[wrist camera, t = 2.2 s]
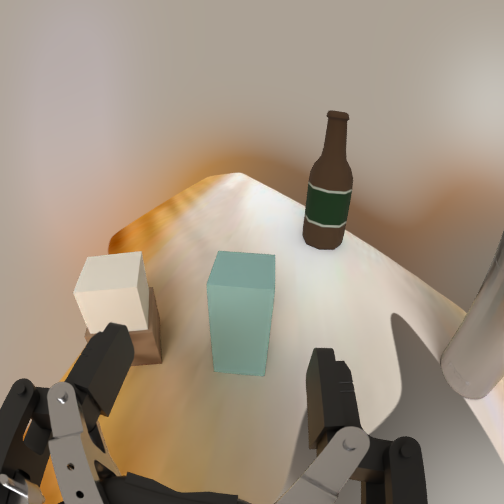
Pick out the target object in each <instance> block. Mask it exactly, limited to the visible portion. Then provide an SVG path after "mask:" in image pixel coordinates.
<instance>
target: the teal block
mask: <svg viewBox="0 0 504 504" xmlns="http://www.w3.org/2000/svg"><path fill="white" fill-rule="evenodd" d="M274 293H275V255H269V254H255V253H241V252H227V251H218V253H217V256H216V259H215V262H214V265H213V268H212V270H211V273H210V276H209V279H208V282H207V297H208V310H209V323H210V334H211V345H212V355H213V365H214V372H223V373H232V374H242V375H254V376H264V375H265V367H266V360H267V352H268V344H269V336H270V328H271V319H272V311H273V302H274Z"/></svg>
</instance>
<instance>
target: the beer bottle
mask: <svg viewBox="0 0 504 504" xmlns="http://www.w3.org/2000/svg"><path fill="white" fill-rule="evenodd" d="M327 117H328V124H327V130H326V137H325V143H324V148H323V152H322V155H321V156H320V158H319V159H318V160H317V161H316V162H315V163H314V165H313V167H312V169H311V171H310V177H309V183H308V192H307V201H306V209H305V217H304V225H303V237H304V240H305V242H306V244H308V245H310V246H312V247H315V248H317V249H324V250H334V249H335V248H336V247H338V246H339V245H340V244H341V243H342V240H343V236H344V231H345V226H346V221H347V216H348V210H349V205H350V199H351V193H352V185H353V184H352V183H353V177H352V172H351V168H350V166H349V164H348V162H347V160H346V139H347V138H346V137H347V121H348V120H349V115H348V114H347V113H345V112H339V111H329V112H328V113H327Z"/></svg>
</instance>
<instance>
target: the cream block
mask: <svg viewBox="0 0 504 504" xmlns="http://www.w3.org/2000/svg"><path fill="white" fill-rule="evenodd" d="M73 293H74V296H75V298H76V301H77V304H78V306H79V309H80V311H81V313H82V316H83V318H84V321H85V323H86V325H87V327H88V330H89V332H90V334H95V333H98V332H99V331H100V332H103V331H104V329H105V328H106V326H107V325H108V323H110V322H112V323H117V324H122V325H126V326H127V328H128V331H138V330H148V309H149V288H148V283H147V278H146V273H145V268H144V262H143V257H142V251H139V252H130V253H121V254H111V255H102V256H94V257H88V258H87V260H86V262H85V265H84V267H83V269H82V272H81V274H80V277H79V280H78V282H77V284H76V287H75V289H74V292H73Z"/></svg>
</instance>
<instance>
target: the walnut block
mask: <svg viewBox="0 0 504 504" xmlns="http://www.w3.org/2000/svg"><path fill="white" fill-rule="evenodd" d="M95 334H97V333H95ZM95 334H90V332H89V330H88V327H87V329H86V333H85V339H86V341H87V343H88V342H89V340H90V339H91V338H92V337H93V336H94V335H95ZM129 334H130V337H131V340H132V343H133V346H134V351H135V354H134V359H133V362H132V364H131V366H138V365H150V364H161V363H162V357H161V339H160V318H159V313H158V309H157V305H156V300H155V295H154V290H153V287H150V288H149V309H148V330H138V331H129Z"/></svg>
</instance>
